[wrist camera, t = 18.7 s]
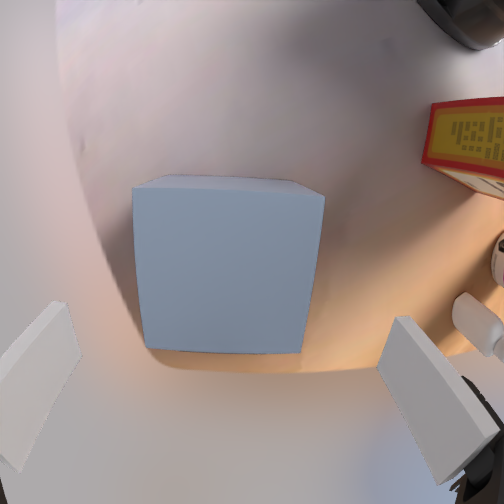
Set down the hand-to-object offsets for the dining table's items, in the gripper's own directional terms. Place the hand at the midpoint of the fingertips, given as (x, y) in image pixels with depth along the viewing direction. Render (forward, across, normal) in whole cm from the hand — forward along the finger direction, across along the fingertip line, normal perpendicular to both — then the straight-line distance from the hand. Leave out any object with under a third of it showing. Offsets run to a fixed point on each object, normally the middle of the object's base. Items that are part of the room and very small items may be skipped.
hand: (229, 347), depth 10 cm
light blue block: (+15, 0, 0) cm, 15 cm away
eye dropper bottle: (+16, +29, -8) cm, 34 cm away
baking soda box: (+16, +22, +11) cm, 29 cm away
